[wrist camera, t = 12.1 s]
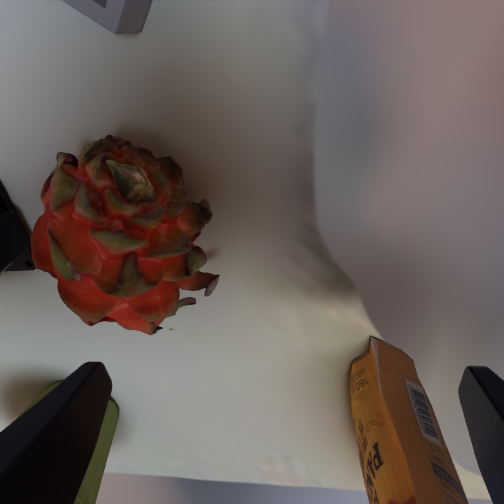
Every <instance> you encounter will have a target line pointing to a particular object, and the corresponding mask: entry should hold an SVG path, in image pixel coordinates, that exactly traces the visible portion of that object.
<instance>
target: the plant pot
mask: <svg viewBox="0 0 504 504" xmlns="http://www.w3.org/2000/svg"><path fill="white" fill-rule="evenodd" d="M61 382H62V381H61ZM61 382H57V383H55V384H53V385H51V386H49V387H46V388H45V390H44V391H43V392H42V393H41V394H40V395H39V396H38V397H37V398H36V399H35V400H34V401H33V402H32V403H31V404H30V405H29V406H28V407H27V409H26V410H25V411H24V412H26V411H27V410H28V409H29V408H31V407H32V406H33V405H34V404H35V403H37V402H38V401H39V400H40V399H41V398H43V397H44V396H45V395H46V394H48V393H49V392H50V391H51V390H52V389H54V388H55V387H56V386H57V385H58V384H60V383H61ZM24 412H23V413H24ZM23 413H22V414H23ZM22 414H21V415H22ZM21 415H20V416H21ZM20 416H19V417H20ZM118 418H119V412H118V408H117V406H116V405H115V403H114V402H113V401H110V400H109V402H108V406H107V409H106V413H105V417H104V420H103V424H102V427H101V431H100V434H99V438H98V441H97V444H96V448H95V450H94V453H93V456H92V459H91V461H90V464H89V466H88V469H87V472H86V474H85V477H84V479H83V482H82V484H81V487H80V490H79V492H78V495H77V497H76V500H75V502H74V504H95V502H96V499H97V495H98V491H99V488H100V484H101V480H102V476H103V473H104V469H105V466H106V462H107V458H108V455H109V451H110V447H111V444H112V440H113V436H114V433H115V429H116V425H117V422H118Z"/></svg>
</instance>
